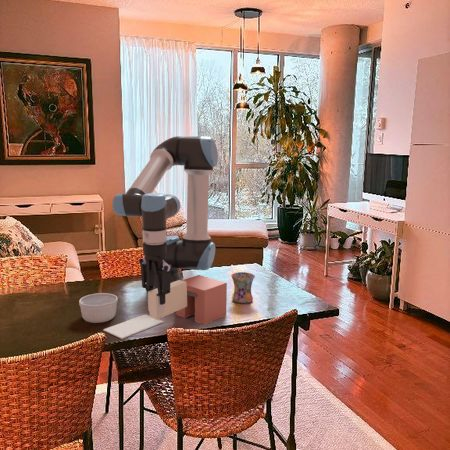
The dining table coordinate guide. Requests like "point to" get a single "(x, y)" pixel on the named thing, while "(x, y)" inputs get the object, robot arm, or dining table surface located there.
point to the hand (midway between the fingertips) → (156, 311)
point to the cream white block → (169, 299)
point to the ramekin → (98, 307)
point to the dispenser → (205, 299)
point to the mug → (242, 287)
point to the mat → (132, 326)
